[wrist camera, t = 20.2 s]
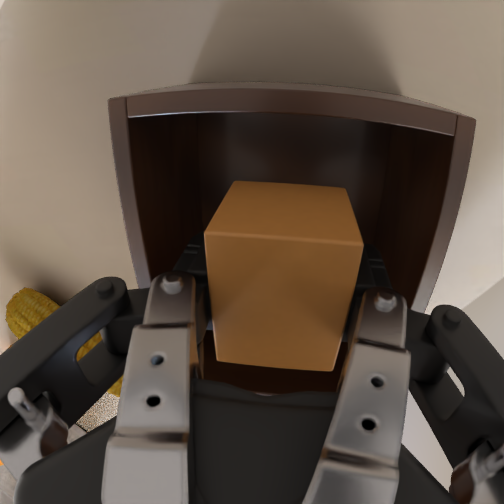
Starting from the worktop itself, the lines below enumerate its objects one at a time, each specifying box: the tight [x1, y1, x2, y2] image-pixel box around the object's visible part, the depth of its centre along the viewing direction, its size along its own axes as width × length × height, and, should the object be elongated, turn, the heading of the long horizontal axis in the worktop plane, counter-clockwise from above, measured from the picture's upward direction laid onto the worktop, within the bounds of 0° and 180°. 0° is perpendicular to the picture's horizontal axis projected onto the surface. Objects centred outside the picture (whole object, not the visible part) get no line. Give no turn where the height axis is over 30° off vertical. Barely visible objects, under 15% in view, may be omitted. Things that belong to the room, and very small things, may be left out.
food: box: [5, 288, 124, 397], centre depth 28 cm, size 21×6×6 cm, turn 62°
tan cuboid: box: [204, 181, 364, 371], centre depth 11 cm, size 5×4×4 cm
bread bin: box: [108, 82, 476, 396], centre depth 16 cm, size 16×13×9 cm
